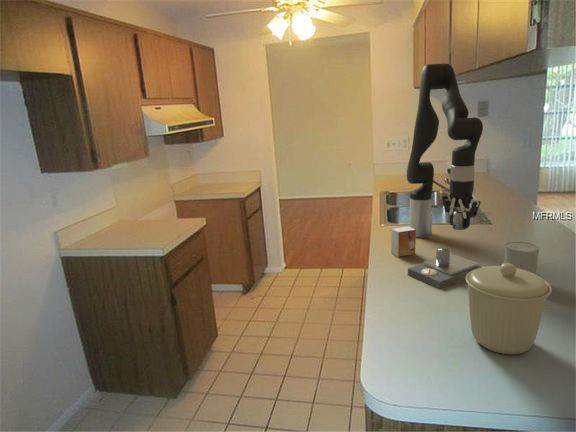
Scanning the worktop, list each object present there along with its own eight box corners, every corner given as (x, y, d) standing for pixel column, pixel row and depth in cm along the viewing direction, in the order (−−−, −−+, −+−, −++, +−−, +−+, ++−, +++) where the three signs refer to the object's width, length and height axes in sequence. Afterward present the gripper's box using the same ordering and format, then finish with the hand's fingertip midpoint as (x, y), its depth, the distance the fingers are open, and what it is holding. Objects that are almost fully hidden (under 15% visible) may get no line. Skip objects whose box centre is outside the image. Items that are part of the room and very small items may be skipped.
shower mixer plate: (450, 255, 148) (450, 253, 148) (478, 265, 138) (478, 263, 138) (423, 264, 142) (423, 261, 142) (451, 275, 132) (451, 272, 131)
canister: (473, 316, 111) (478, 246, 106) (549, 337, 100) (559, 259, 94) (451, 347, 98) (456, 268, 92) (536, 375, 86) (547, 287, 81)
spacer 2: (449, 227, 139) (450, 211, 138) (458, 225, 141) (459, 209, 140) (460, 230, 135) (461, 214, 134) (468, 228, 137) (469, 211, 136)
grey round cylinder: (505, 273, 137) (508, 239, 134) (537, 279, 131) (541, 244, 128) (498, 283, 130) (502, 248, 127) (532, 290, 124) (536, 253, 121)
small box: (397, 257, 157) (398, 232, 154) (390, 252, 162) (390, 228, 159) (415, 254, 159) (416, 229, 156) (408, 250, 164) (408, 225, 161)
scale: (448, 261, 150) (448, 253, 149) (481, 273, 138) (482, 265, 137) (407, 274, 141) (407, 266, 140) (439, 288, 129) (439, 280, 128)
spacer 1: (441, 261, 141) (442, 245, 139) (452, 265, 137) (453, 249, 136) (433, 264, 139) (433, 248, 137) (443, 268, 135) (444, 252, 134)
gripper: (488, 179, 129) (484, 229, 134) (452, 174, 141) (449, 220, 146) (473, 182, 126) (469, 233, 130) (437, 177, 138) (435, 224, 143)
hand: (459, 226), depth 138 cm, fingers closed on spacer 2, 4 cm apart
